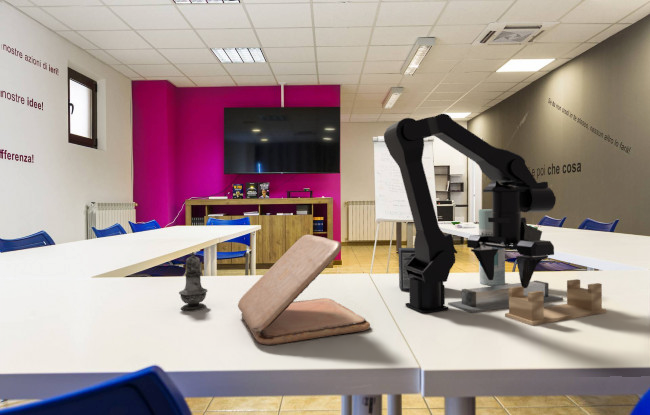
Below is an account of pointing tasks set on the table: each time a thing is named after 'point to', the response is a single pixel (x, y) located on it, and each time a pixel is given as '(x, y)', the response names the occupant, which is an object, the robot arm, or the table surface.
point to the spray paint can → (499, 258)
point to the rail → (498, 293)
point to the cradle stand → (577, 305)
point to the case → (285, 286)
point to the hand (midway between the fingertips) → (507, 283)
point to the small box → (404, 258)
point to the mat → (494, 305)
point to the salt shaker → (193, 286)
